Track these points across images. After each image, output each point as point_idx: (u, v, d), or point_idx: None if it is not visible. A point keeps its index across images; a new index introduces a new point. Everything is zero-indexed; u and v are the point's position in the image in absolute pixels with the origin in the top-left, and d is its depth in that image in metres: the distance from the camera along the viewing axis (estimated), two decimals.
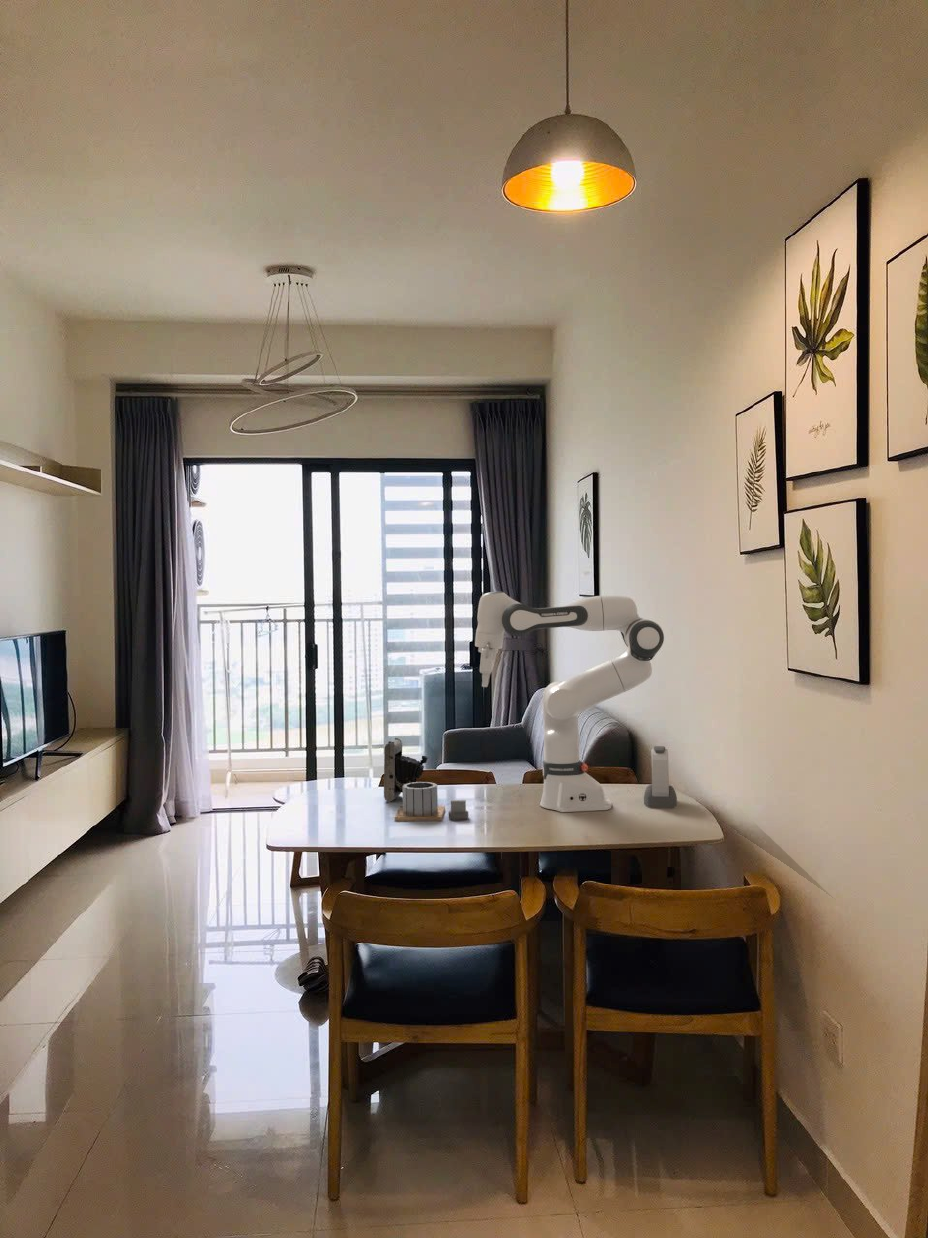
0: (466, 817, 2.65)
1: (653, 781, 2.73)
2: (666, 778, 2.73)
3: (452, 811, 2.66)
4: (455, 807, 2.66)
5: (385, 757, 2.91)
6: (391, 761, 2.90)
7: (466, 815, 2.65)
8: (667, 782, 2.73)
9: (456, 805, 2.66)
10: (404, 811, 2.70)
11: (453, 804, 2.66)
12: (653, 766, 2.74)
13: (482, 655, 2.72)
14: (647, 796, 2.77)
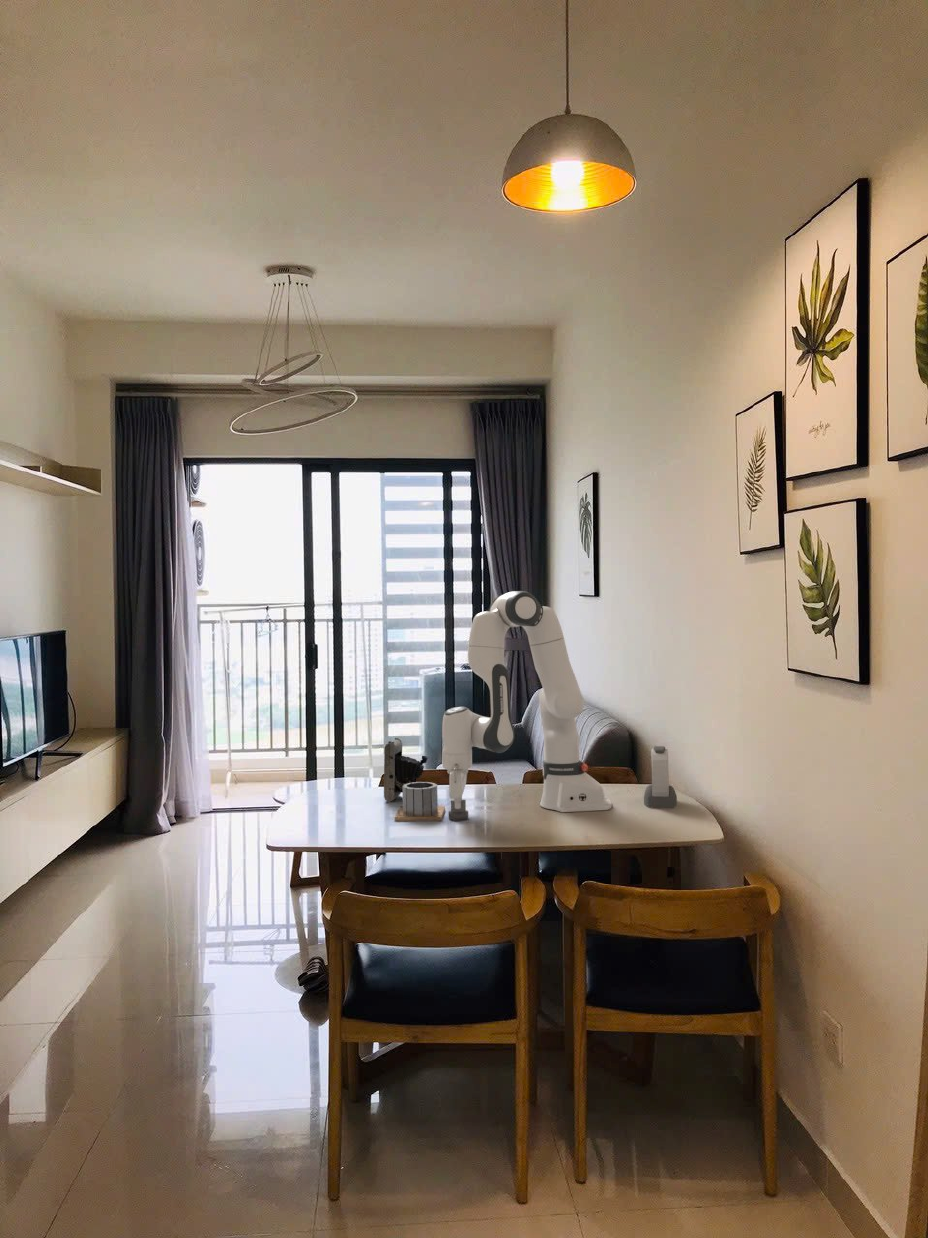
0: (466, 817, 2.65)
1: (653, 781, 2.73)
2: (666, 778, 2.73)
3: (452, 811, 2.66)
4: None
5: (385, 757, 2.91)
6: (391, 761, 2.90)
7: (466, 815, 2.65)
8: (667, 782, 2.73)
9: None
10: (404, 811, 2.70)
11: (453, 804, 2.66)
12: (653, 766, 2.74)
13: (451, 780, 2.57)
14: (647, 796, 2.77)
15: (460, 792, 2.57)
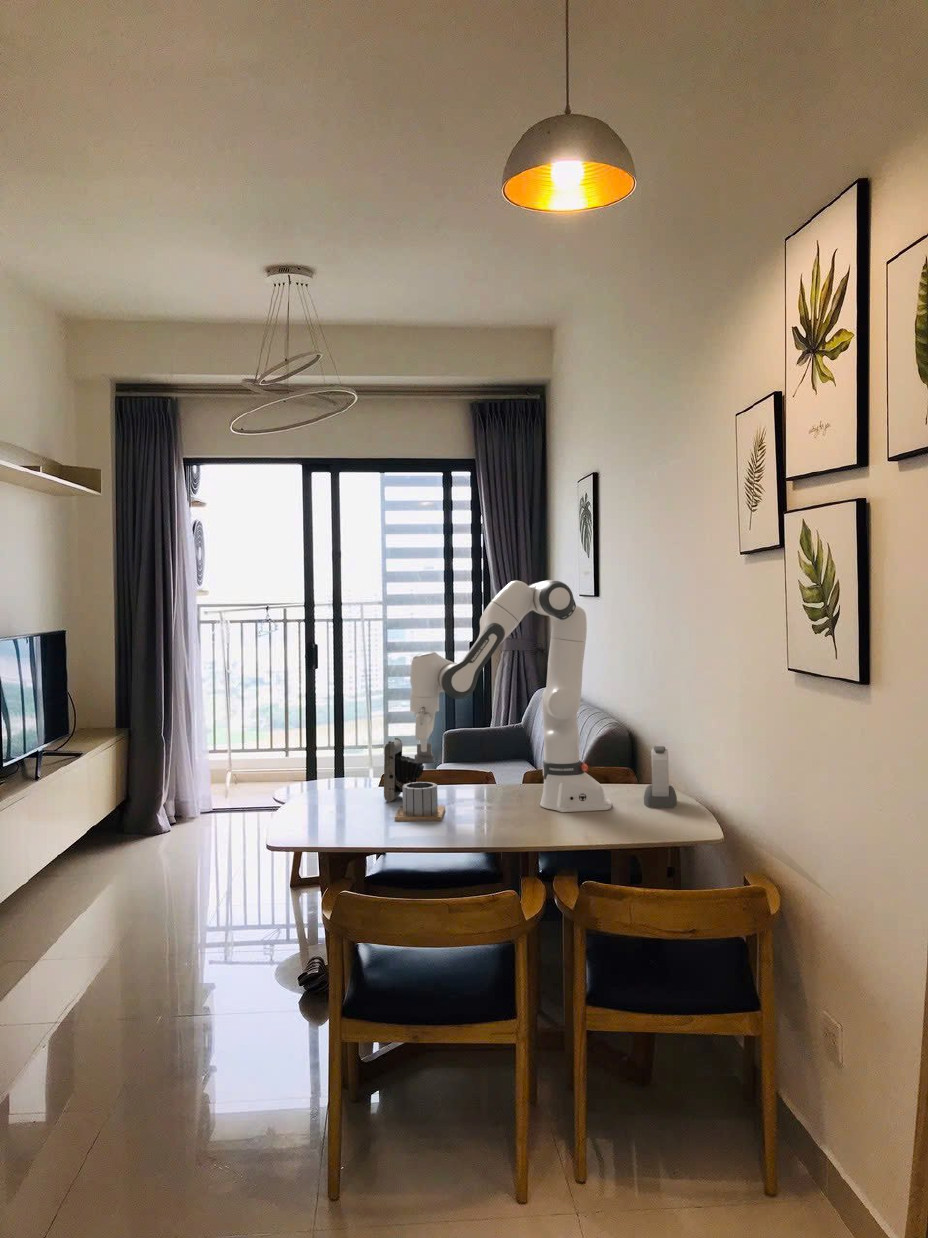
0: (432, 760, 2.68)
1: (653, 781, 2.73)
2: (666, 778, 2.73)
3: (418, 754, 2.69)
4: None
5: (385, 757, 2.91)
6: (391, 761, 2.90)
7: (432, 758, 2.68)
8: (667, 782, 2.73)
9: None
10: (404, 811, 2.70)
11: (419, 747, 2.69)
12: (653, 766, 2.74)
13: (417, 721, 2.60)
14: (647, 796, 2.77)
15: (426, 734, 2.60)
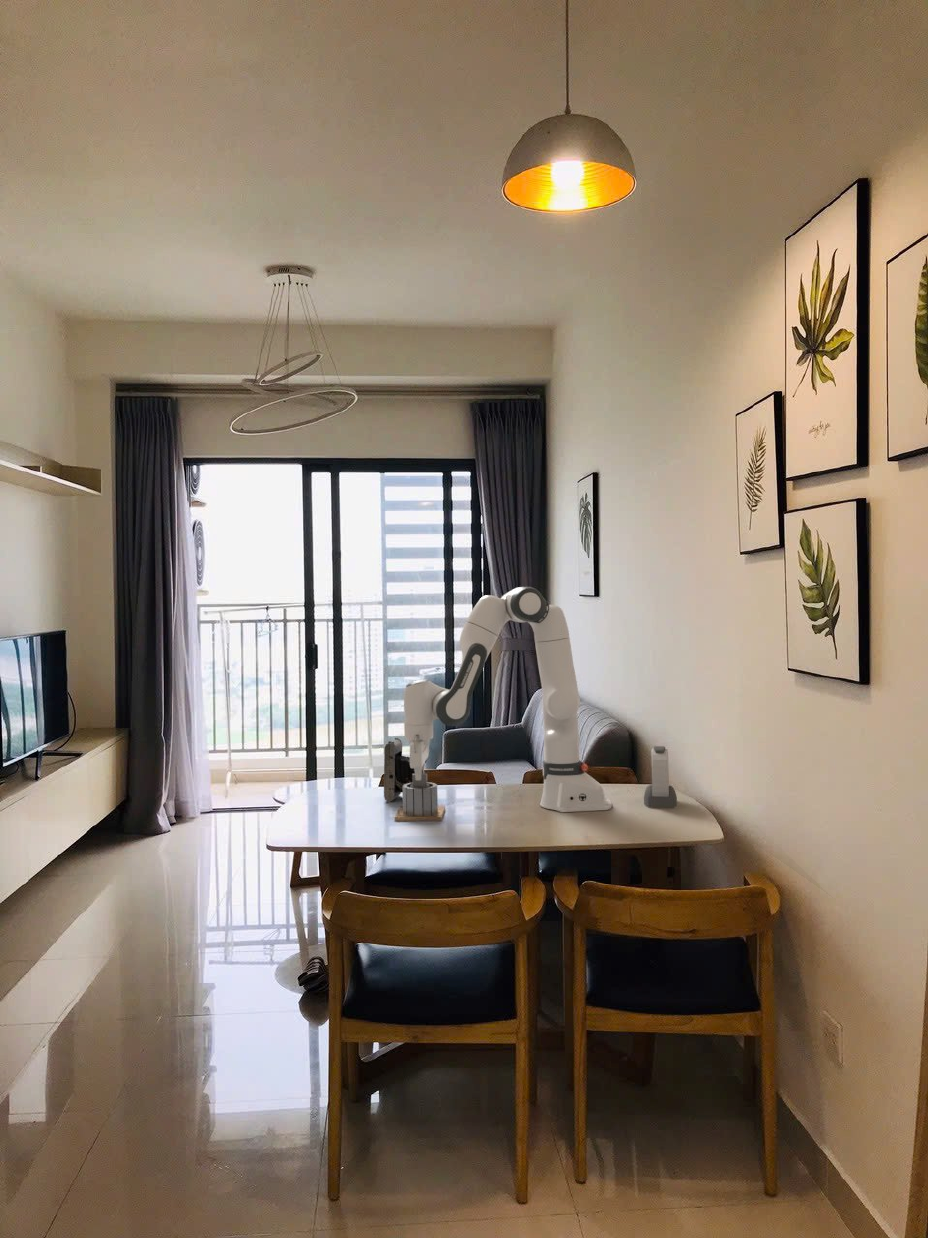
0: None
1: (653, 781, 2.73)
2: (666, 778, 2.73)
3: (413, 784, 2.71)
4: (416, 781, 2.71)
5: (385, 757, 2.91)
6: (391, 761, 2.90)
7: None
8: (667, 782, 2.73)
9: None
10: (404, 811, 2.70)
11: (414, 777, 2.71)
12: (653, 766, 2.74)
13: (411, 750, 2.62)
14: (647, 796, 2.77)
15: (420, 762, 2.61)
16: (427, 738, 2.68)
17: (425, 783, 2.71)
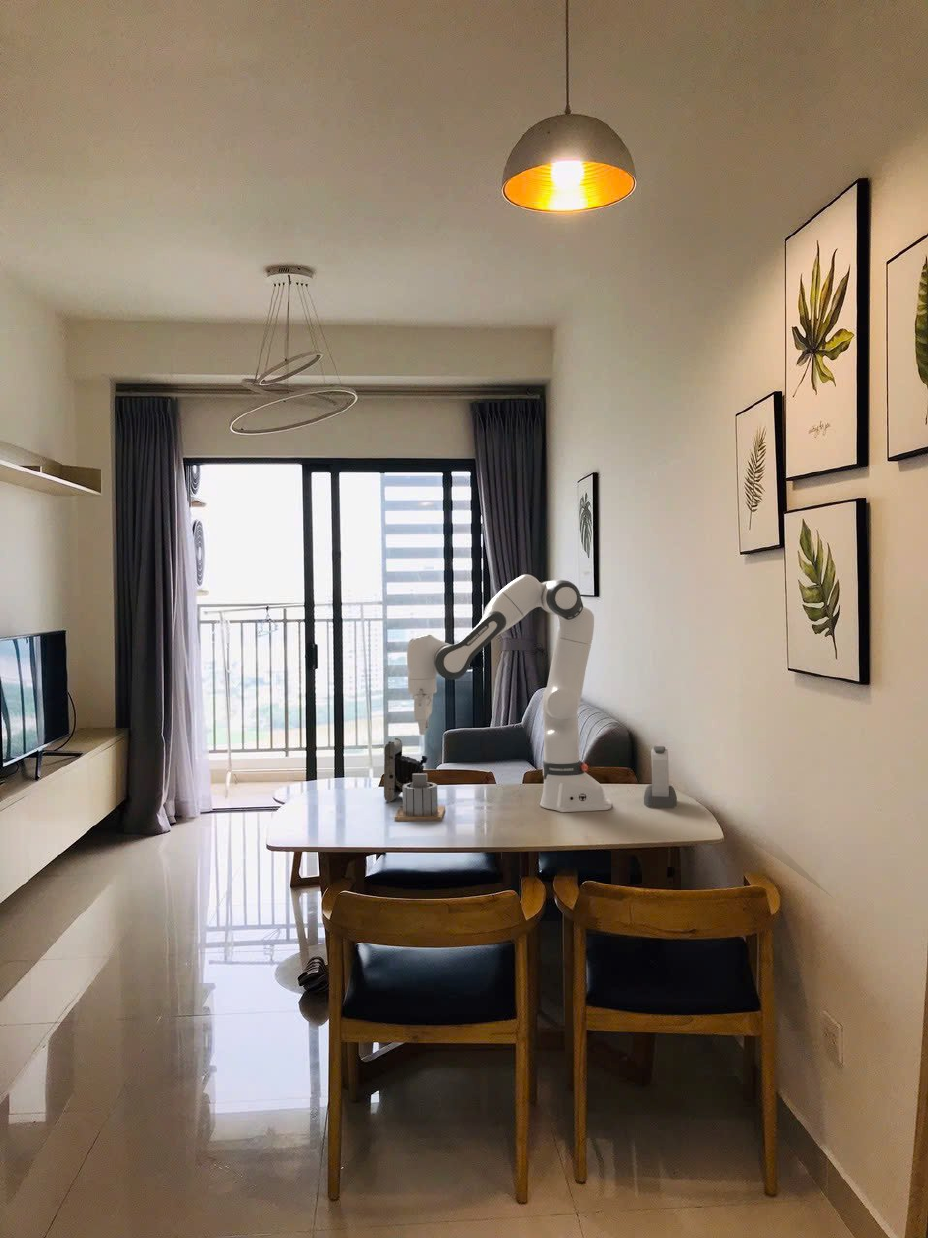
0: None
1: (653, 781, 2.73)
2: (666, 778, 2.73)
3: (413, 784, 2.71)
4: (416, 780, 2.71)
5: (385, 757, 2.91)
6: (391, 761, 2.90)
7: None
8: (667, 782, 2.73)
9: (417, 778, 2.71)
10: (404, 811, 2.70)
11: (414, 777, 2.71)
12: (653, 766, 2.74)
13: (415, 703, 2.64)
14: (647, 796, 2.77)
15: (424, 714, 2.64)
16: (431, 692, 2.70)
17: (425, 783, 2.71)
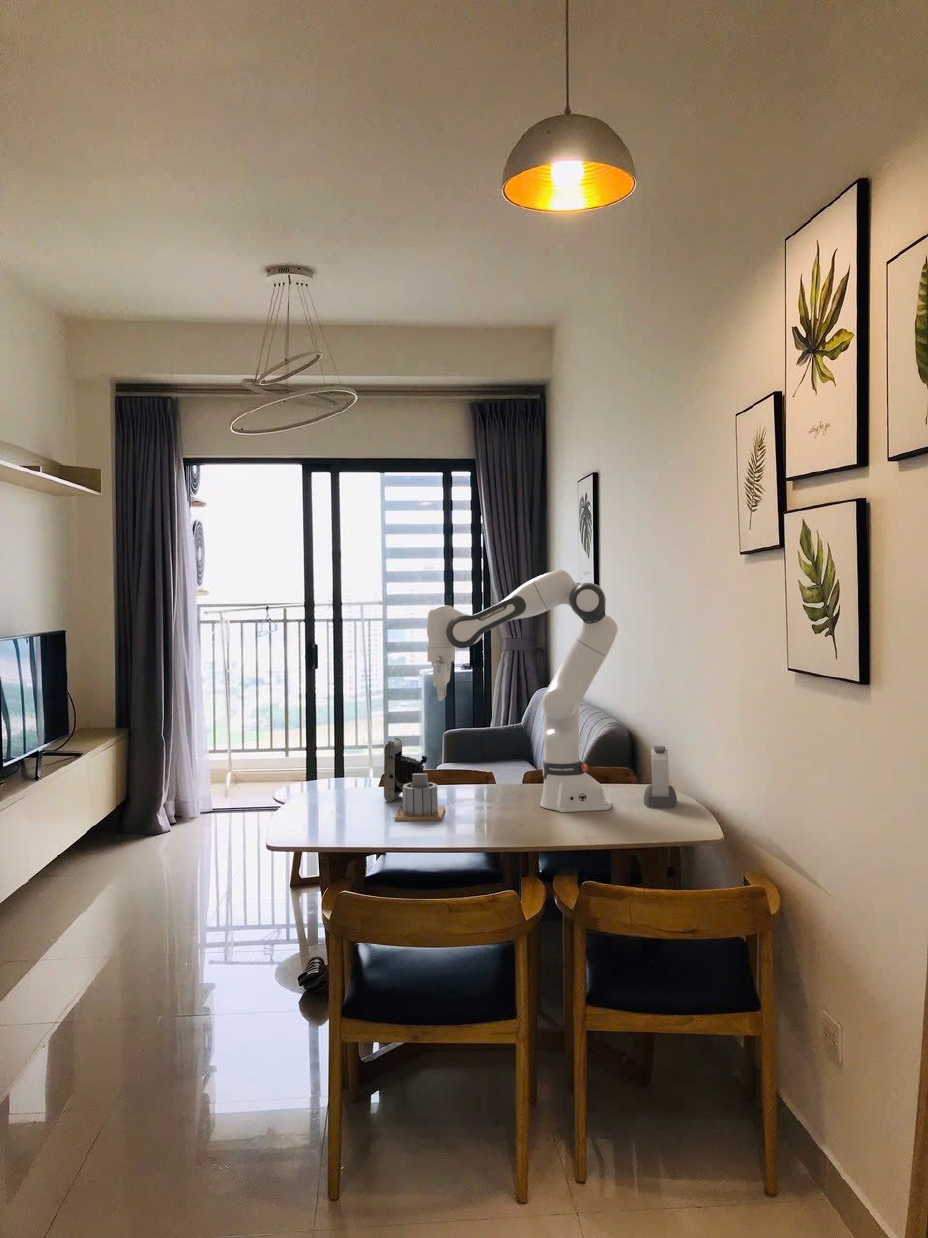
0: None
1: (653, 781, 2.73)
2: (666, 778, 2.73)
3: (413, 784, 2.71)
4: (416, 780, 2.71)
5: (385, 757, 2.91)
6: (391, 761, 2.90)
7: None
8: (667, 782, 2.73)
9: (417, 778, 2.71)
10: (404, 811, 2.70)
11: (414, 777, 2.71)
12: (653, 766, 2.74)
13: (434, 669, 2.76)
14: (647, 796, 2.77)
15: (443, 681, 2.76)
16: (449, 660, 2.82)
17: (425, 783, 2.71)
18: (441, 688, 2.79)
